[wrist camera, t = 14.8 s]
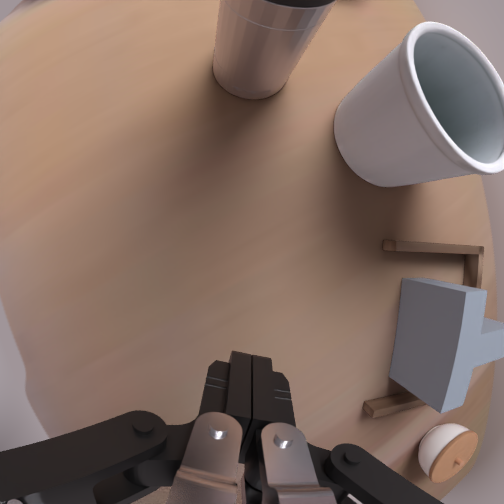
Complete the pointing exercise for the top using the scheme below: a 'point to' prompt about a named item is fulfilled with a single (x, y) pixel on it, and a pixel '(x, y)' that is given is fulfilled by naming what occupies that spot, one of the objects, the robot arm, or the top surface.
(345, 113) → the utensil holder
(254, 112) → the top surface
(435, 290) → the slate T block
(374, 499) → the robot arm
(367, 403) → the walnut bay
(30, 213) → the top surface
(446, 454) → the lidded jar
